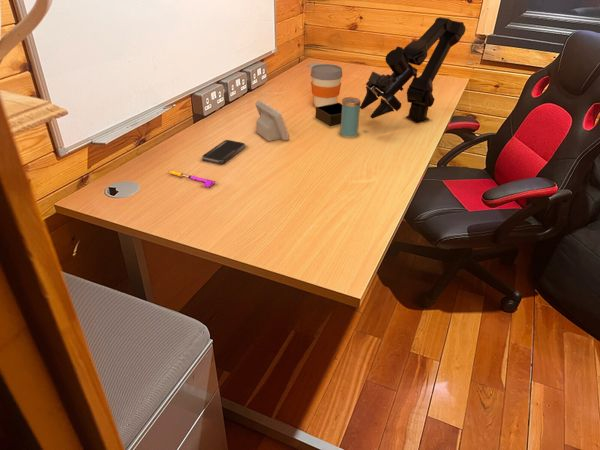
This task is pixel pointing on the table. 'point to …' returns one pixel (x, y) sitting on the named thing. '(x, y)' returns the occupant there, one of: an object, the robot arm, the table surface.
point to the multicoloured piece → (207, 181)
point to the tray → (329, 114)
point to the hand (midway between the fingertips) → (365, 113)
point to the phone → (223, 151)
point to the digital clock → (270, 123)
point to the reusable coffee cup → (325, 84)
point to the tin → (350, 116)
